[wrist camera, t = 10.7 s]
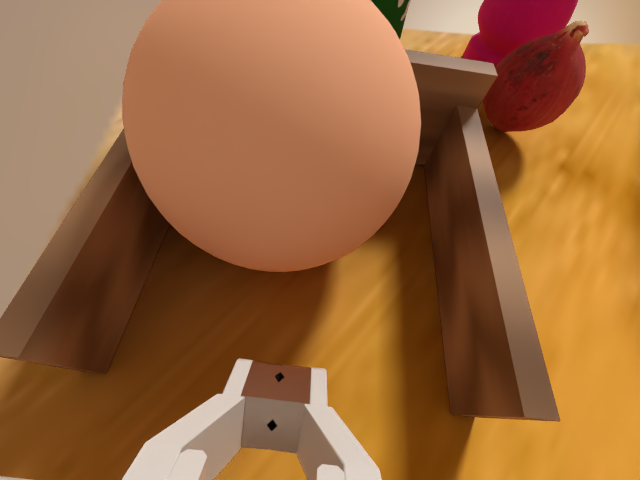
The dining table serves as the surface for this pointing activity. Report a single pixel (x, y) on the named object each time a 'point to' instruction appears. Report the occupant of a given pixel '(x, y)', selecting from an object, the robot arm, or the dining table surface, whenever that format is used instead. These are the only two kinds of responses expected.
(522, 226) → the dining table surface
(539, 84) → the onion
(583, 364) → the dining table surface
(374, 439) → the dining table surface
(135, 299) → the corral
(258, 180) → the rubber ball
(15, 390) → the dining table surface
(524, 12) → the pepper mill
